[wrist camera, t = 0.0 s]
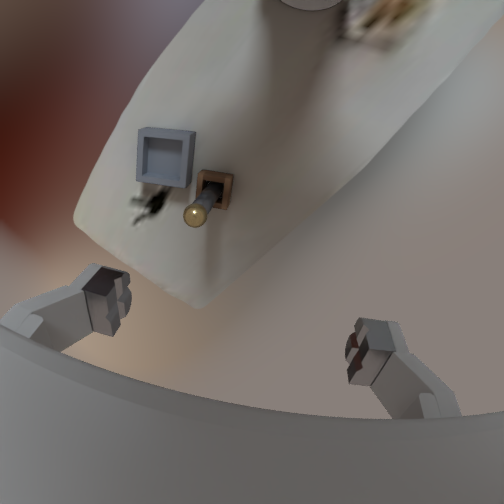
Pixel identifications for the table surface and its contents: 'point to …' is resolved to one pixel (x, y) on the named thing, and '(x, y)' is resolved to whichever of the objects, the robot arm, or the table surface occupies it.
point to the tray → (165, 156)
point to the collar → (216, 177)
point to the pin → (202, 205)
